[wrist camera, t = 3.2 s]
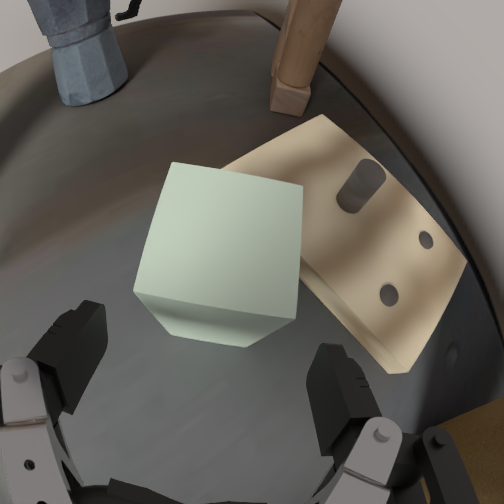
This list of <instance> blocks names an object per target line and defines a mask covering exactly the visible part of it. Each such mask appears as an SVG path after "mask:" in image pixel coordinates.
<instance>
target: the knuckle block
mask: <svg viewBox="0 0 504 504" xmlns="http://www.w3.org/2000/svg"><path fill="white" fill-rule="evenodd" d="M302 210H303V186H301V185H297V184H292V183H288V182H283V181H278V180H273V179H269V178H264V177H259V176H253V175H248V174H243V173H238V172H232V171H226V170H221V169H215V168H209V167H202V166H196V165H190V164H183V163H176V162H172V164H171V167H170V169H169V172H168V175H167V178H166V181H165V183H164V186H163V189H162V192H161V195H160V198H159V201H158V204H157V207H156V211H155V214H154V217H153V220H152V223H151V227H150V230H149V233H148V237H147V240H146V244H145V247H144V251H143V255H142V258H141V262H140V266H139V270H138V273H137V277H136V281H135V285H134V290H133V292H134V293H135V294H136V295H137V297H138V298H139V299H140V300H141V301H142V303H143V304H144V305H145V306H146V307H147V308H148V310H149V311H150V312H151V313H152V314H153V315H154V316H155V318H156V319H157V320H158V321H159V322H160V323H161V324H162V325H163V326H164V328H165V329H166V330H167V331H168V332H169V333H170V334H171V335H175V336H180V337H185V338H190V339H196V340H201V341H207V342H213V343H219V344H226V345H232V346H239V347H247V346H249V345H251V344H253V343H255V342H257V341H258V340H260V339H262V338H264V337H266V336H267V335H269V334H271V333H273V332H274V331H276V330H278V329H280V328H281V327H283V326H285V325H287V324H288V323H290V322H292V321H293V320H295V319H296V310H297V298H298V284H299V269H300V252H301V233H302Z"/></svg>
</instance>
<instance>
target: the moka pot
mask: <svg viewBox="0 0 504 504" xmlns="http://www.w3.org/2000/svg"><path fill="white" fill-rule="evenodd" d="M27 1H28V3H29V5H30V7H31V10H32V12H33V14H34V17H35V19H36V21H37V24H38V26H39V28H40V30H41V32H42V35H45V36H47V39H48V42H49V45H50V46H51V47H52V50H51V55H52V61H53V67H54V72H55V77H56V82H57V86H58V91H59V95H60V99H61V101H62V102H63V103H64V104H66V105H68V106H79V105H84V104H90V103H93V102H95V101H98V100H100V99H102V98H104V97H106V96H108V95H110V94H111V93H113V92H114V91H115V90H117V89H118V88H119V87H120V86H121V85H122V84H123V83H124V82H125V81H126V80H127V79H128V71H127V67H126V64H125V61H124V59H123V56H122V53H121V50H120V48H119V44H118V41H117V39H116V36H115V33H114V30H113V26H112V24H111V16H110V12H109V11H110V0H27ZM141 1H142V0H131V2H130V4H129V8H128V10H127V11H126V12H123V13H117V14H116V15H115V19H116V20H117V21H121V20H125V19H129V18H133V17H135V16H137V14H138V9H139V5H140V4H141Z"/></svg>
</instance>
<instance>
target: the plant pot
mask: <svg viewBox="0 0 504 504" xmlns="http://www.w3.org/2000/svg"><path fill="white" fill-rule="evenodd" d="M436 427H441V428H443V429H445V430H446V431H447V432H448V433H449V434H450V435H451V437H452V438H453V441H454V443H455V445H456V447H457V449H458V452H459V454H460V456H461V458H462V461H463V463H464V465H465V468H466V470H467V473H468V475H469V477H470V480H471V482H472V485H473V488H474V490H475V493H476V495H477V498H478V501H479V504H504V396H503V397H501V398H499V399H496V400H494V401H492V402H490V403H487V404H485V405H483V406H480V407H478V408H476V409H473V410H471V411H469V412H466V413H464V414H462V415H459V416H457V417H455V418H453V419H450V420H448V421H446V422H443V423H441V424H439V425H437V426H436ZM420 481H421V484H422V488H423V491H424V494H425V497H426V501H427V504H429V503H430V495H429V492H428V489H427V486H426V483H425V479H424V477H423V478H422V479H421V480H420Z"/></svg>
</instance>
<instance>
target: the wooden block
mask: <svg viewBox="0 0 504 504" xmlns="http://www.w3.org/2000/svg"><path fill="white" fill-rule="evenodd" d="M341 2H342V0H289V3H288V6H287V10H286V14H285V17H284V23H283V24H282V27H281V31H280V35H279V39H278V42H277V46H276V50H275V54H274V57H273V61H272V69H271V76H272V77H273V78H272V82H271V91H270V111H272V112H278V113H283V114H288V115H292V116H297V117H302V115H303V113H304V111H305V108H306V106H307V103H308V100H309V98H310V95H311V91H310V83H311V81H312V78H313V75H314V73H315V70H316V68H317V65H318V62H319V60H320V57H321V54H322V52H323V49H324V46H325V44H326V41H327V39H328V36H329V33H330V31H331V28H332V26H333V23H334V20H335V18H336V15H337V13H338V10H339V7H340V5H341Z"/></svg>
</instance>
